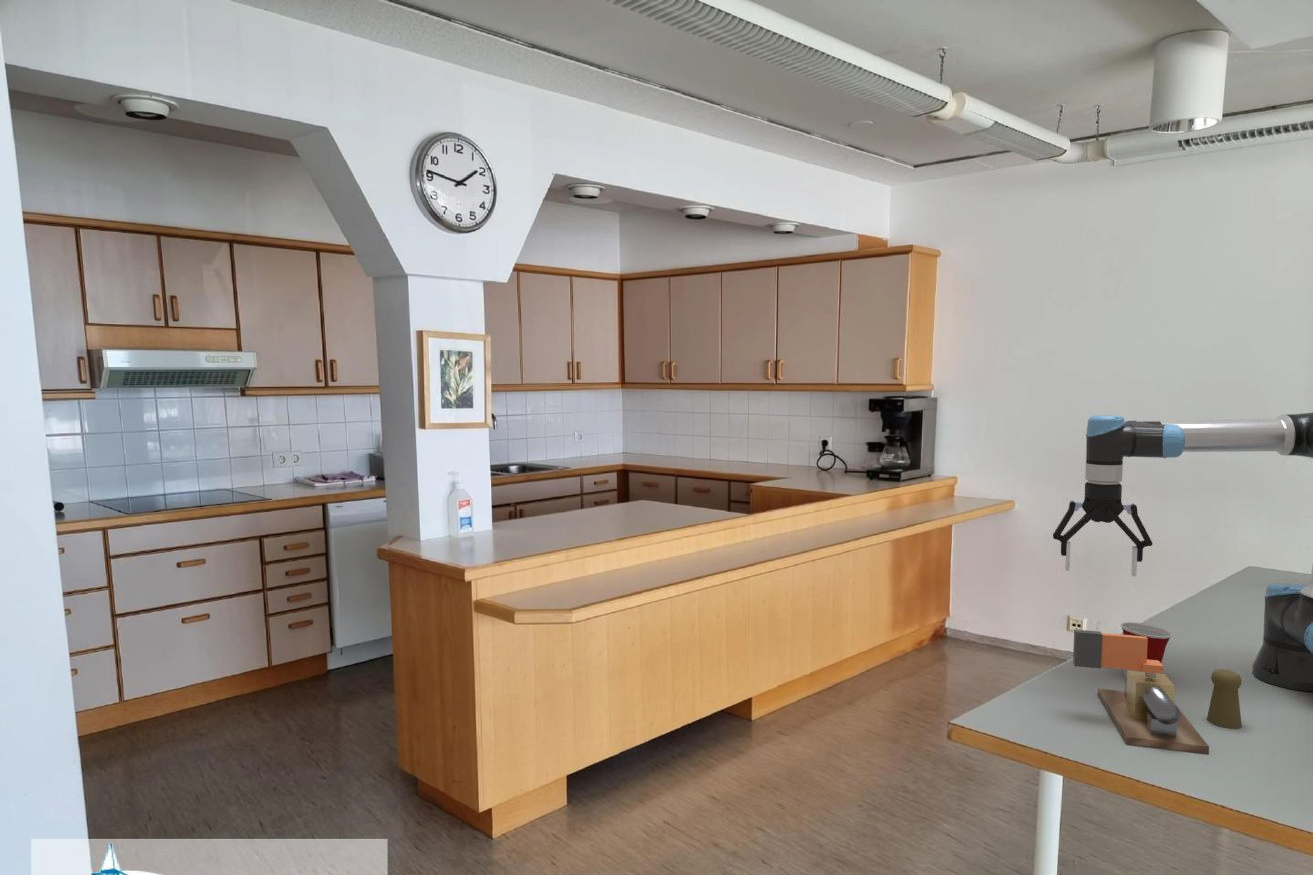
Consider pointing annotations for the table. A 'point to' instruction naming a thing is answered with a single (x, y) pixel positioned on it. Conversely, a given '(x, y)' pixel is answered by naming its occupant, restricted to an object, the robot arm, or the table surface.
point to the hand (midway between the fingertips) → (1100, 572)
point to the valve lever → (1113, 652)
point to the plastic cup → (1149, 638)
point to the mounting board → (1137, 729)
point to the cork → (1225, 699)
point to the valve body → (1152, 702)
